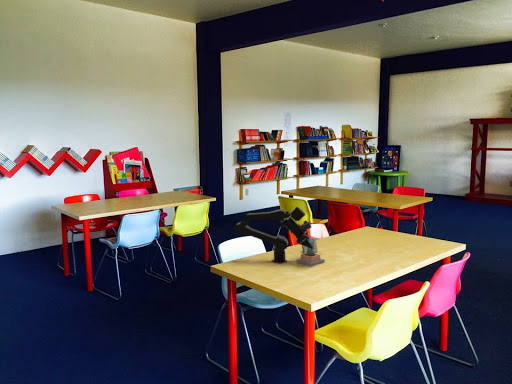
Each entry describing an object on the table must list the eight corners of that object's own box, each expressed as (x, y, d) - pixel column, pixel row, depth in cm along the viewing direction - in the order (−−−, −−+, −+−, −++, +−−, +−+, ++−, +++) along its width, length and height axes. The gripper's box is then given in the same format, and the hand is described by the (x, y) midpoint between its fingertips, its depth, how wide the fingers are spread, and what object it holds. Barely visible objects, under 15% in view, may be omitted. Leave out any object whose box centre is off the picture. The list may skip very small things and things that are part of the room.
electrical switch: (305, 254, 270) (304, 239, 270) (300, 253, 275) (299, 238, 274) (317, 252, 274) (317, 237, 274) (313, 251, 279) (312, 236, 278)
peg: (308, 260, 251) (308, 240, 249) (305, 258, 255) (306, 238, 253) (314, 260, 252) (315, 239, 250) (312, 258, 256) (313, 238, 254)
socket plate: (311, 266, 245) (311, 258, 245) (296, 262, 253) (296, 254, 253) (324, 261, 254) (324, 254, 253) (309, 258, 261) (309, 250, 261)
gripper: (302, 220, 241) (322, 240, 241) (303, 214, 260) (322, 232, 260) (288, 234, 243) (308, 254, 243) (290, 227, 262) (308, 245, 262)
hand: (312, 246), depth 252 cm, fingers open, 9 cm apart
